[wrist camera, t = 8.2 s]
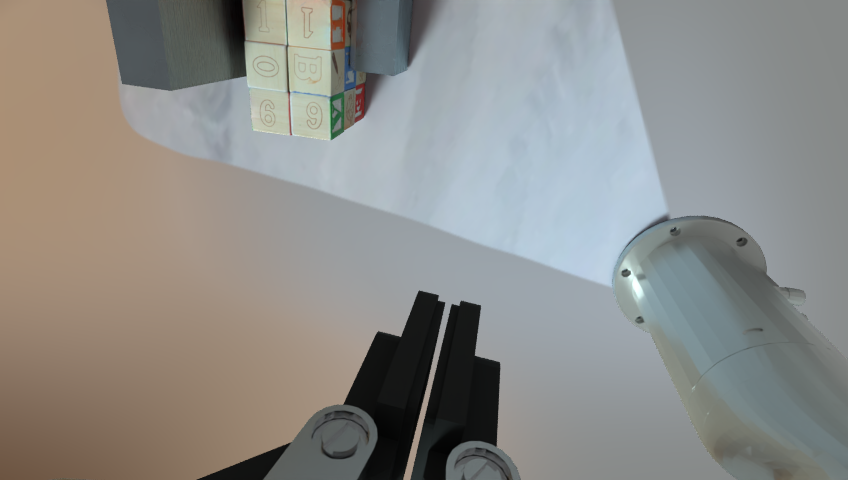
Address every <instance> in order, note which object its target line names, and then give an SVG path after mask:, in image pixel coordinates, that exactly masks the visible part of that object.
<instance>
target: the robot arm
mask: <svg viewBox="0 0 848 480" xmlns="http://www.w3.org/2000/svg"><path fill="white" fill-rule="evenodd" d="M674 227H675V228H674ZM672 228H674V229H672ZM671 229H672V230H671ZM624 269H626V270H624ZM766 271H767V267H766V262H765V257H764V255H763V253H762V250H761V248H760V246H759V245H758V244H757V243H756V242H755V240H754V239H753V238H752V237H751V236H750V235H749V234H748V233H746V232H745V231H744V230H743V229H741V228H740V227H738V226H736V225H734V224H733V223H731V222H728V221H725V220H722V219H719V218H714V217H708V216H686V217H681V218H675V219H671V220H668V221H665V222H662V223H659V224H657V225H655V226H653V227H651V228H649V229H648V230H646V231H644V232H643V233H642V234H640V235H639V236H638V237H636V238H635V239H634V240H633V241H632V242H631V243H630V244H629V245H628V246H627V247H626V248H625V250H624V251H623V253H622V254H621V256H620V257H619V259H618V261H617V264H616V266H615V269H614V273H613V279H612V284H613V293H614V296H615V298H616V302H617V304H618V306H619V308H620V310H621V312H622V313H623V314H624V316H625V317H626V318H627V319H628V320H629V321H630V322H631V323H632V324H633V325H635V326H636V327H638V328H640V329H642V330H643V331H645V332H648V333H650V334H651V337H652V339H653V341H654V343H655V345H656V347H657V349H658V351H659V354H660V356H661V358H662V360H663V362H664V364H665V366H666V369H667V371H668V373H669V375H670V377H671V379H672V381H673V383H674V385H675V388H676V389H677V392H678V394H679V396H680V398H681V401H682V403H683V404H684V407H685V409H686V411H687V413H688V415H689V417H690V420H691V422H692V424H693V426H694V428H695V430H696V431H697V434H698V436H699V438H700V440H701V441H702V443H703V445H704V446H705V448H706V450H707V451H708V452H709V454H710V455H711V456H712V458H713V459H714V460H715V461H716V462H717V463H718V464H719V465H720V466H721V467H722V468H723V469H724V470H726V471H727V472H728V473H729V474H730V475H732V476H733V477H734V478H736V479H737V480H848V359H847V358H846V357H845V356H844V355H843V354H842V353H841V352H840V351H839V350H838V349H837V348H836V347H835V346H834V345H833V344H832V343H831V342H830V341H829V340H828V339H827V338H826V337H825V336H824V335H823V334H822V333H821V332H819V330H817V329H816V328H815V327H814V326H813V325H812V324H811V323H810V322H809V321H808V318H807V316H806V315H804V314H802V313H800V312H799V311H798V310H797V309H796V308H795V307H794V306H793V305H796V306H800V305H802V304H803V303H804V302H805V299H806V296H805V293H804V291H802V290H798V289H792V288H786V287H785V288H781V287H779V286H778V285H777V284H776V283H775V282H774V281H773V280H772V279H771V278H770V277H769V276H767V274H766ZM438 297H439V295H436V294H431V293H427V292H423V291H419V292H418V294H417V297H416V299H415V302H414V305H413V307H412V310H411V312H410V315H409V318H408V320H407V323H406V325H405V328H404V331H403V333H402V336H401V337H399V336H395V335H391V334H387V333H383V332H379V331H378V332H377V334H376V336H375V338H374V340H373V342H372V344H371V346H370V349H369V351H368V353H367V355H366V357H365V359H364V361H363V363H362V366H361V368H360V370H359V372H358V374H357V377H356V379H355V381H354V383H353V385H352V387H351V389H350V391H349V394H348V396H347V398H346V400H345V402H344V404H343V405H333V406H329V407H326V408H324V409H322V410H320V411H318V412H316V413H315V414H314V415H313V416H312V417H311V418H310V419H309V420H308V422H307V423H306V424H305V426H304V427H303V428H302V429H301V431H300V432H299V433H298V435H297V436H296V437H295V439H294V440H293V441H292V442H291V443H288V444H286V445H283V446H281V447H278V448H276V449H273V450H271V451H268V452H266V453H263V454H261V455H258V456H256V457H253V458H250V459H248V460H245V461H243V462H240V463H238V464H235V465H233V466H230V467H228V468H225V469H223V470H220V471H218V472H215V473H213V474H210V475H207V476H205V477H202V478H200V479H197V480H403V477H404V474H405V470H406V466H407V462H408V458H409V454H410V450H411V446H412V443H413V439H414V435H415V431H416V427H417V423H418V419H419V415H420V411H421V407H422V403H423V399H424V395H425V391H426V387H427V383H428V379H429V374H430V370H431V365H432V361H433V355H434V352H435V347H436V343H437V338H438V334H439V329H440V324H441V320H442V315H443V311H444V307H445V302H441V301H438ZM480 310H481V305H476V304H472V303H468V302H464V301H461V302H460V306H457V305H454V304H452V306H451V309H450V314H449V318H448V322H447V326H446V330H445V335H444V339H443V343H442V347H441V351H440V356H439V360H438V364H437V368H436V373H435V377H434V381H433V385H432V389H431V393H430V398H429V402H428V406H427V411H426V414H425V419H424V423H423V427H422V432H421V436H420V441H419V445H418V449H417V454H416V458H415V462H414V467H413V472H412V475H411V480H521V479H520V476H519V473H518V470H517V467H516V466H515V465H514V463H513V461H512V460H511V458H510V457H509V456H507V455H506V454H505V453H504V452H503V451H502V450H501V449H499V448H497V447H496V446H497V426H498V425H497V424H498V405H499V383H500V362H496V361H493V360H489V359H485V358H481V357H477V356H475V349H476V341H477V333H478V325H479V318H480ZM53 480H84V479H64V478H62V479H53Z"/></svg>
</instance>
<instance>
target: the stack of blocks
mask: <svg viewBox="0 0 848 480" xmlns="http://www.w3.org/2000/svg"><path fill="white" fill-rule="evenodd" d="M242 6H243V19H244V32H245V42H244V46H245V59H246V72H247V84H248V87H249V88H250V89H249V95H250V107H251V121H252V130H254V131H261V132H268V133H276V134H282V135H295V136H301V137H308V138H316V139H323V140H332V139H334V138H335V137H337V136H338V135H340V134H341V133H343V132H344V130H345V129H347V128H349V127H351V126H352V125H354V123H356V122H357V121H359V120H361V119H362V118H364V94H365V84H364V82H365V81H366V72H360V71H355V70H350V47H351V9H352V0H242Z"/></svg>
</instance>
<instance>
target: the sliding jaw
mask: <svg viewBox="0 0 848 480" xmlns="http://www.w3.org/2000/svg"><path fill="white" fill-rule="evenodd" d="M412 5H413V0H352V9H351V47H350V70H355V71H360V72H368V73H376V74H383V75H391V76H395V75H397V74H399V73H402V72H404V71H406V70H407V67H408V55H409V42H410V30H411V17H412Z"/></svg>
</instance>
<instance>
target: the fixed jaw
mask: <svg viewBox="0 0 848 480" xmlns="http://www.w3.org/2000/svg"><path fill="white" fill-rule="evenodd" d="M106 2H107V7H108V13H109V17H110V23H111V28H112V33H113V39H114V44H115V49H116V54H117V59H118V65H119V70H120V75H121V80H122V84H127V85H134V86H141V87H148V88H155V89H162V90H169V91H172V90H177V89H182V88H188V87H193V86H198V85H203V84H208V83H213V82H218V81H224V80H229V79H234V78H239V77H244V76H247V72H246V59H245V46H244V42H245V32H244V19H243V6H242V0H106Z"/></svg>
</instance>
